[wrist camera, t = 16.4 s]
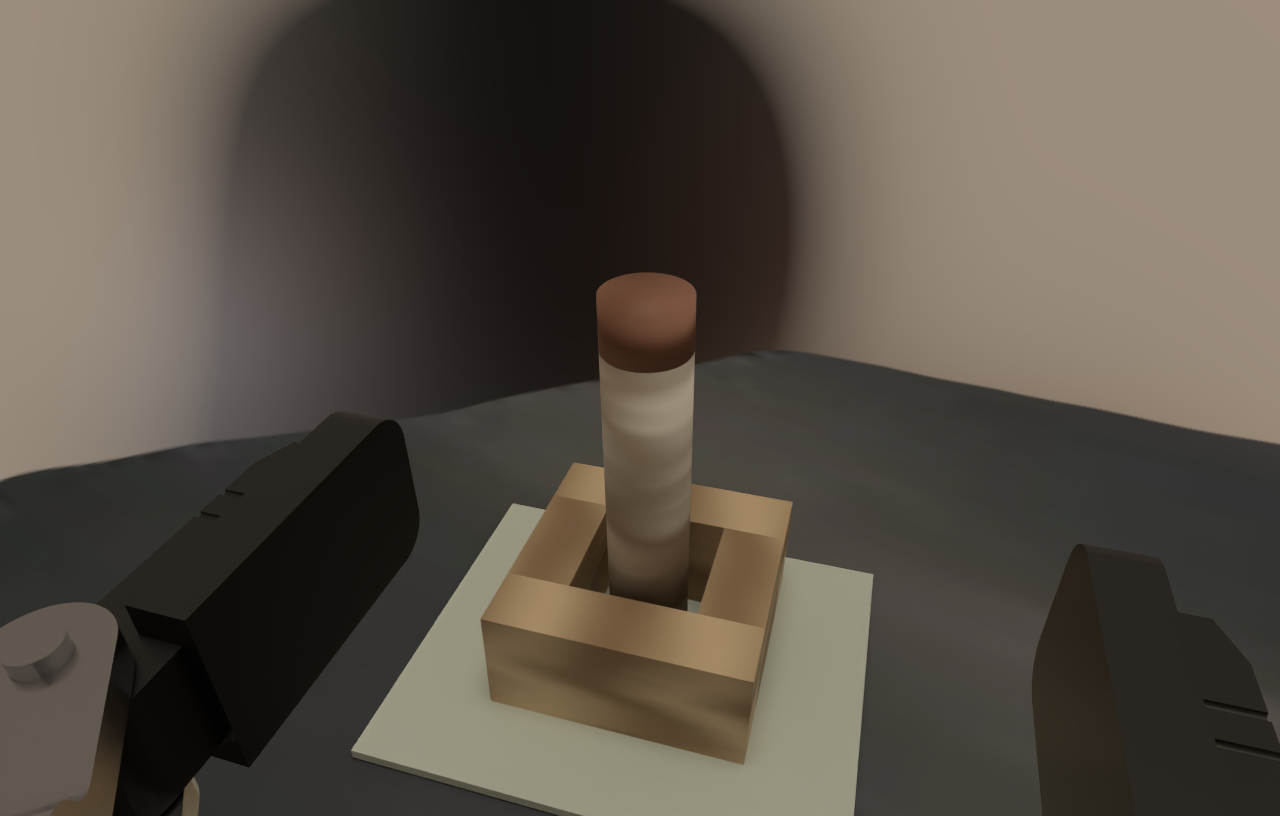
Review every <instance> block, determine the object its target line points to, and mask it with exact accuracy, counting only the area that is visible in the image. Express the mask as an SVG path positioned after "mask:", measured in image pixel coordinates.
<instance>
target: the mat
mask: <svg viewBox="0 0 1280 816" xmlns="http://www.w3.org/2000/svg"><path fill="white" fill-rule="evenodd" d="M544 512H545V510H543V509H538V508H533V507H528V506H523V505H518V504H512V506H511V507H510V509H509V510H508V512H507V513H506V515H505V516H504V518H503V519H502V521H501V522H500V524H499V525H498V527H497V528H496V530H495V531H494V533H493V535H492V536H491V538H490V539H489V541H488V542H487V544H486V545H485V547H484V548H483V550H482V551H481V553H480V554H479V556H478V557H477V559H476V561H475V562H474V564H473V565H472V567H471V568H470V570H469V571H468V573H467V574H466V576H465V577H464V579H463V580H462V582H461V583H460V585H459V587H458V588H457V590H456V591H455V593H454V594H453V596H452V597H451V599H450V600H449V602H448V603H447V605H446V606H445V608H444V609H443V611H442V612H441V614H440V616H439V617H438V619H437V620H436V622H435V623H434V625H433V626H432V628H431V629H430V631H429V632H428V634H427V635H426V637H425V638H424V640H423V642H422V643H421V645H420V646H419V648H418V649H417V651H416V652H415V654H414V655H413V657H412V658H411V660H410V661H409V663H408V664H407V666H406V667H405V669H404V671H403V672H402V674H401V675H400V677H399V678H398V680H397V681H396V683H395V684H394V686H393V687H392V689H391V690H390V692H389V693H388V695H387V697H386V698H385V700H384V701H383V703H382V704H381V706H380V707H379V709H378V710H377V712H376V713H375V715H374V716H373V718H372V719H371V721H370V722H369V724H368V726H367V727H366V729H365V730H364V732H363V733H362V735H361V736H360V738H359V739H358V741H357V742H356V744H355V745H354V747H353V748H352V750H351V752H352V756H353V757H354V758H357V759H361V760H364V761H368V762H371V763H375V764H378V765H382V766H386V767H389V768H393V769H396V770H400V771H403V772H407V773H410V774H414V775H417V776H421V777H424V778H428V779H432V780H435V781H439V782H442V783H446V784H449V785H453V786H456V787H460V788H463V789H467V790H470V791H474V792H478V793H481V794H485V795H488V796H492V797H495V798H499V799H502V800H506V801H509V802H513V803H516V804H520V805H524V806H527V807H531V808H534V809H538V810H541V811H545V812H548V813H552V814H555V815H559V816H854V806H855V794H856V781H857V769H858V757H859V744H860V732H861V719H862V707H863V695H864V682H865V670H866V658H867V645H868V633H869V621H870V608H871V596H872V584H873V574H868V573H863V572H858V571H853V570H848V569H843V568H838V567H833V566H828V565H823V564H818V563H813V562H807V561H802V560H797V559H792V558H787V557H785V563H784V571H783V578H782V583H781V588H780V593H779V598H778V602H777V607H776V612H775V617H774V622H773V626H772V631H771V636H770V641H769V646H768V650H767V655H766V660H765V665H764V670H763V675H762V679H761V684H760V689H759V694H758V699H757V703H756V708H755V713H754V718H753V723H752V727H751V732H750V737H749V742H748V747H747V752H746V756H745V761H744V765H741V764H737V763H734V762H730V761H726V760H722V759H718V758H714V757H710V756H706V755H702V754H698V753H694V752H690V751H686V750H683V749H679V748H675V747H671V746H667V745H663V744H659V743H655V742H651V741H647V740H643V739H639V738H635V737H632V736H628V735H624V734H620V733H616V732H612V731H608V730H604V729H600V728H596V727H592V726H588V725H584V724H581V723H577V722H573V721H569V720H565V719H561V718H557V717H553V716H549V715H545V714H541V713H537V712H533V711H530V710H526V709H522V708H518V707H514V706H510V705H506V704H502V703H498V702H494V701H491V698H490V690H489V682H488V675H487V667H486V659H485V651H484V643H483V636H482V628H481V620H480V619H481V617H482V615H483V614H484V612H485V610H486V609H487V607H488V605H489V604H490V602H491V600H492V599H493V597H494V595H495V594H496V592H497V590H498V589H499V587H500V585H501V584H502V582H503V580H504V579H505V577H506V575H507V574H508V572H509V570H510V569H511V567H512V565H513V564H514V562H515V560H516V559H517V557H518V555H519V554H520V552H521V550H522V549H523V547H524V545H525V543H526V542H527V540H528V538H529V537H530V535H531V533H532V532H533V530H534V528H535V527H536V525H537V523H538V522H539V520H540V518H541V517H542V515H543V513H544ZM605 594H609V595H610V593H609V587H608V589H607V591H606V593H605ZM700 604H701V602H698V601H693V600H688V612H692V613H696V614H698V611H699V608H700Z"/></svg>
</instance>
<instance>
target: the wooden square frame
mask: <svg viewBox="0 0 1280 816" xmlns="http://www.w3.org/2000/svg"><path fill="white" fill-rule="evenodd" d="M792 504H793V502H789V501H783V500H778V499H772V498H767V497H761V496H756V495H750V494H745V493H739V492H733V491H728V490H722V489H717V488H711V487H706V486H700V485H695V484H691V503H690V539H689V576H688V600H693V601H698V602H701V604H700V608H699V611H698V614H696V613H692V612H687V611H682V610H678V609H673V608H669V607H664V606H659V605H655V604H650V603H645V602H641V601H636V600H632V599H627V598H622V597H618V596H613V595H609V594H605V593H606V591H607V589H608V587H609V571H608V548H607V525H606V503H605V480H604V468H601V467H596V466H590V465H585V464H579V463H573V465H572V466H571V468H570V470H569V471H568V473H567V475H566V477H565V478H564V480H563V482H562V483H561V485H560V487H559V488H558V490H557V492H556V493H555V495H554V497H553V498H552V500H551V502H550V503H549V505H548V507H547V508H546V510H545V512H544V513H543V515H542V517H541V518H540V520H539V522H538V523H537V525H536V527H535V528H534V530H533V532H532V533H531V535H530V537H529V538H528V540H527V542H526V543H525V545H524V547H523V549H522V550H521V552H520V554H519V555H518V557H517V559H516V560H515V562H514V564H513V565H512V567H511V569H510V570H509V572H508V574H507V575H506V577H505V579H504V580H503V582H502V584H501V585H500V587H499V589H498V590H497V592H496V594H495V595H494V597H493V599H492V600H491V602H490V604H489V605H488V607H487V609H486V610H485V612H484V614H483V615H482V617H481V619H480V620H481V628H482V636H483V643H484V651H485V659H486V667H487V675H488V682H489V690H490V698H491V701H494V702H498V703H502V704H506V705H510V706H514V707H518V708H522V709H526V710H530V711H533V712H537V713H541V714H545V715H549V716H553V717H557V718H561V719H565V720H569V721H573V722H577V723H581V724H584V725H588V726H592V727H596V728H600V729H604V730H608V731H612V732H616V733H620V734H624V735H628V736H632V737H635V738H639V739H643V740H647V741H651V742H655V743H659V744H663V745H667V746H671V747H675V748H679V749H683V750H686V751H690V752H694V753H698V754H702V755H706V756H710V757H714V758H718V759H722V760H726V761H730V762H734V763H737V764H741V765H744V761H745V756H746V752H747V747H748V742H749V737H750V732H751V727H752V723H753V718H754V713H755V708H756V703H757V699H758V694H759V689H760V684H761V679H762V675H763V670H764V665H765V660H766V655H767V650H768V646H769V641H770V636H771V631H772V626H773V622H774V617H775V612H776V607H777V602H778V598H779V593H780V588H781V583H782V578H783V571H784V563H785V556H786V549H787V541H788V534H789V526H790V519H791V512H792Z"/></svg>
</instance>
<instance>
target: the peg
mask: <svg viewBox="0 0 1280 816" xmlns="http://www.w3.org/2000/svg"><path fill="white" fill-rule="evenodd" d="M596 299H597V320H598V344H599V367H600V390H601V412H602V435H603V457H604V480H605V503H606V525H607V548H608V571H609V593H610V595H613V596H618V597H622V598H627V599H632V600H636V601H641V602H645V603H650V604H655V605H659V606H664V607H669V608H673V609H678V610H682V611H687V612H688V576H689V539H690V503H691V467H692V431H693V395H694V359H695V355H694V354H695V322H696V290H695V289H694V287H693V286H692V285H691V284H690V283H688V282H687V281H685V280H683V279H681V278H678V277H675V276H671V275H667V274H660V273H634V274H627V275H623V276H619V277H616V278H613V279H611V280H609V281H607V282H605V283H604V284H603V285H601V286H600V288H599V289H598V291H597V293H596Z"/></svg>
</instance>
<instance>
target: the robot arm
mask: <svg viewBox="0 0 1280 816" xmlns="http://www.w3.org/2000/svg"><path fill="white" fill-rule="evenodd" d="M418 530H419V508H418V503H417V498H416V493H415V489H414V484H413V479H412V474H411V469H410V464H409V459H408V454H407V449H406V444H405V439H404V435H403V431H402V429H401V427H400V426H399V424H398V423H397V422H395V421H393V420H389V419H384V418H378V417H372V416H366V415H360V414H355V413H349V412H343V411H339V412H335V413H333V414H331V415H330V416H329V417H327V418H326V419H325V420H324V421H323V422H322V423H321V424H320V425H318V426H317V427H316V428H315V429H314V430H313V431H312V432H311V433H310V434H309V435H308V436H307V437H305V438H304V439H303V440H302V441H301V442H300V443H296V442H294V443H292V444H290V445H288V446H286V447H284V448H282V449H281V450H279V451H277V452H275V453H273V454H271V455H269V456H267V457H265V458H263V459H261V460H259V461H257V462H256V463H254V464H253V465H252V466H251V467H250V468H249V469H247V470H246V471H245V472H244V473H243V474H242V475H241V476H240V477H239V478H237V479H236V480H235V481H234V482H233V483H232V484H231V485H230V486H228V487H227V488H226V489H225V494H224V495H218V496H217V497H216V498H215V499H214V500H213V501H212V502H211V503H209V504H208V505H207V506H206V507H205V508H204V509H203V510H202V511H201V515H200V517H199V518H197V517H194V518H193V519H192V520H190V521H189V522H188V523H187V524H186V525H185V526H184V527H183V528H181V529H180V530H179V531H178V532H177V533H176V534H175V535H174V536H172V537H171V538H170V539H169V540H168V541H167V542H166V543H165V544H164V545H162V546H161V547H160V548H159V549H158V550H157V551H156V552H155V553H153V554H152V555H151V556H150V557H149V558H148V559H147V560H146V561H144V562H143V563H142V564H141V565H140V566H139V567H138V568H137V569H136V570H134V571H133V572H132V573H131V574H130V575H129V576H128V577H127V578H125V579H124V580H123V581H122V582H121V583H120V584H119V585H118V586H116V587H115V588H114V589H113V590H112V591H111V592H110V593H109V594H108V595H106V596H105V597H104V598H103V599H102V600H101V601H99V602H98V603H97V604H96V605H95V604H91V603H79V602H77V603H65V604H59V605H54V606H50V607H46V608H43V609H39V610H37V611H34V612H31V613H29V614H26V615H24V616H22V617H20V618H18V619H16V620H14V621H12V622H10V623H8V624H7V625H5V626H3V627H2V628H0V816H198V807H199V786H198V783H197V780H196V778H195V775H196V774H197V772H198V771H199V770H200V769H201V767H202V766H203V765H204V764H205V763H206V761H207V760H208V759H209V758H210V756H213V757H216V758H220V759H223V760H226V761H230V762H233V763H236V764H239V765H243V766H246V767H250V766H251V765H252V763H253V762H254V761H255V759H256V758H257V757H258V755H259V754H260V753H261V751H262V750H263V749H264V747H265V746H266V745H267V744H268V742H269V741H270V740H271V738H272V737H273V736H274V734H275V733H276V732H277V730H278V729H279V728H280V726H281V725H282V724H283V722H284V721H285V720H286V718H287V717H288V716H289V715H290V713H291V712H292V711H293V709H294V708H295V707H296V705H297V704H298V703H299V701H300V700H301V699H302V697H303V696H304V695H305V693H306V692H307V691H308V689H309V688H310V687H311V686H312V684H313V683H314V682H315V680H316V679H317V678H318V676H319V675H320V674H321V672H322V671H323V670H324V668H325V667H326V666H327V664H328V663H329V662H330V660H331V659H332V658H333V656H334V655H335V654H336V653H337V651H338V650H339V649H340V647H341V646H342V645H343V643H344V642H345V641H346V639H347V638H348V637H349V635H350V634H351V633H352V631H353V630H354V629H355V627H356V626H357V625H358V624H359V622H360V621H361V620H362V618H363V617H364V616H365V614H366V613H367V612H368V610H369V609H370V608H371V606H372V605H373V604H374V602H375V601H376V600H377V598H378V597H379V596H380V595H381V593H382V592H383V591H384V589H385V588H386V587H387V585H388V584H389V583H390V581H391V580H392V579H393V577H394V576H395V575H396V573H397V572H398V571H399V569H400V568H401V567H402V566H403V564H404V563H405V562H406V560H407V559H408V557H409V555H410V554H411V552H412V550H413V547H414V545H415V542H416V539H417V535H418ZM1032 704H1033V715H1034V726H1035V737H1036V748H1037V759H1038V770H1039V781H1040V792H1041V803H1042V814H1043V816H1280V744H1279V741H1278V738H1277V736H1276V733H1275V730H1274V727H1273V724H1272V722H1268V721H1267V715H1268V711H1267V708H1266V705H1265V702H1264V699H1263V697H1262V694H1261V691H1260V688H1259V686H1258V683H1257V680H1256V677H1255V675H1254V672H1253V669H1252V666H1251V664H1250V663H1249V662H1248V660H1247V659H1246V658H1245V657H1244V656H1243V655H1242V653H1241V652H1240V651H1239V650H1238V649H1237V647H1236V646H1235V645H1234V644H1233V643H1232V642H1231V640H1230V639H1229V638H1228V637H1227V636H1226V635H1225V633H1224V632H1223V631H1222V630H1221V629H1220V627H1219V626H1218V625H1217V624H1216V623H1215V622H1214V620H1213V619H1210V618H1204V617H1199V616H1194V615H1189V614H1183V613H1178V612H1177V608H1176V605H1175V601H1174V598H1173V594H1172V591H1171V587H1170V584H1169V581H1168V577H1167V574H1166V570H1165V568H1164V565H1163V563H1162V561H1161V560H1160V559H1159V558H1157V557H1153V556H1147V555H1141V554H1136V553H1130V552H1124V551H1119V550H1113V549H1107V548H1102V547H1096V546H1090V545H1085V544H1078V545H1076V546H1075V548H1074V549H1073V551H1072V552H1071V554H1070V557H1069V559H1068V562H1067V565H1066V567H1065V570H1064V573H1063V576H1062V579H1061V581H1060V584H1059V587H1058V590H1057V592H1056V595H1055V598H1054V601H1053V603H1052V606H1051V609H1050V612H1049V615H1048V617H1047V620H1046V623H1045V626H1044V628H1043V631H1042V634H1041V637H1040V640H1039V643H1038V646H1037V650H1036V655H1035V660H1034V667H1033V677H1032Z"/></svg>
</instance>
